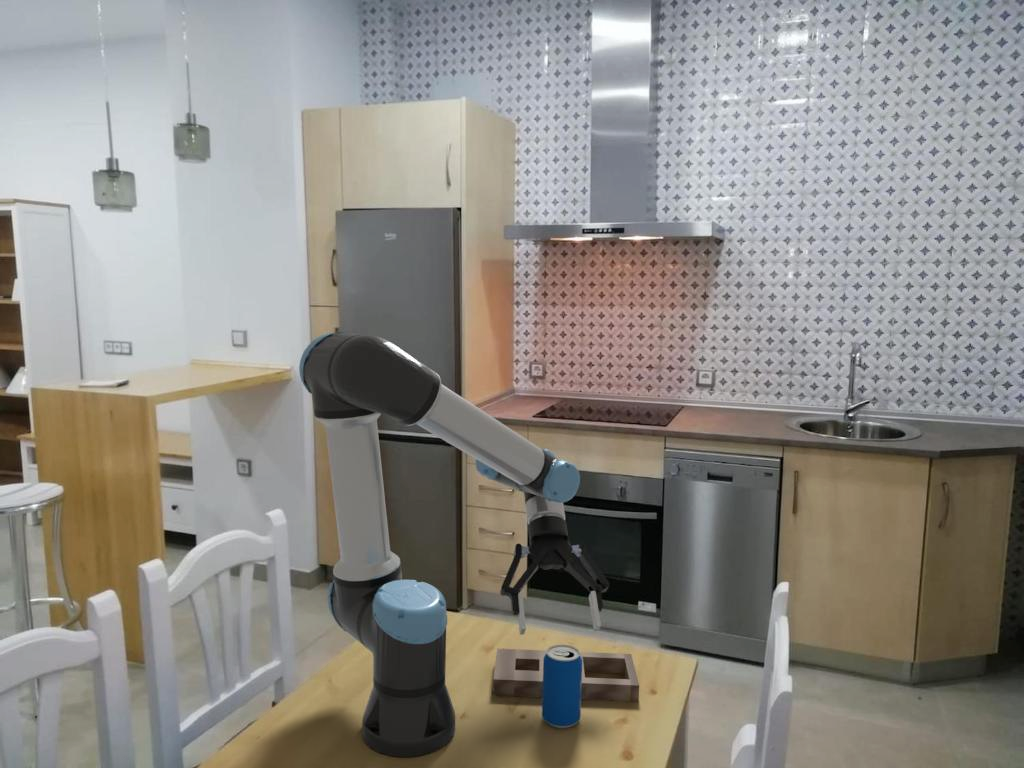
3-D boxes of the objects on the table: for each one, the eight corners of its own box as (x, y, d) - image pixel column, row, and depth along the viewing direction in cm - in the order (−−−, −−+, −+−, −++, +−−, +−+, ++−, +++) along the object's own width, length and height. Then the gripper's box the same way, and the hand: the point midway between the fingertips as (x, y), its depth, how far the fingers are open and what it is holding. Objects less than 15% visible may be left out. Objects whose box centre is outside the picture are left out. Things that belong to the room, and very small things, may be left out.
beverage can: (577, 733, 122) (580, 663, 121) (538, 727, 123) (541, 658, 122) (582, 712, 128) (584, 645, 127) (545, 707, 130) (547, 641, 128)
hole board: (492, 695, 133) (493, 679, 133) (496, 663, 145) (497, 648, 145) (638, 701, 132) (639, 685, 132) (630, 668, 144) (631, 653, 144)
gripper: (604, 530, 150) (623, 634, 137) (481, 533, 147) (488, 640, 134) (612, 512, 144) (633, 619, 132) (485, 514, 141) (493, 625, 128)
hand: (560, 630), depth 133 cm, fingers open, 13 cm apart
